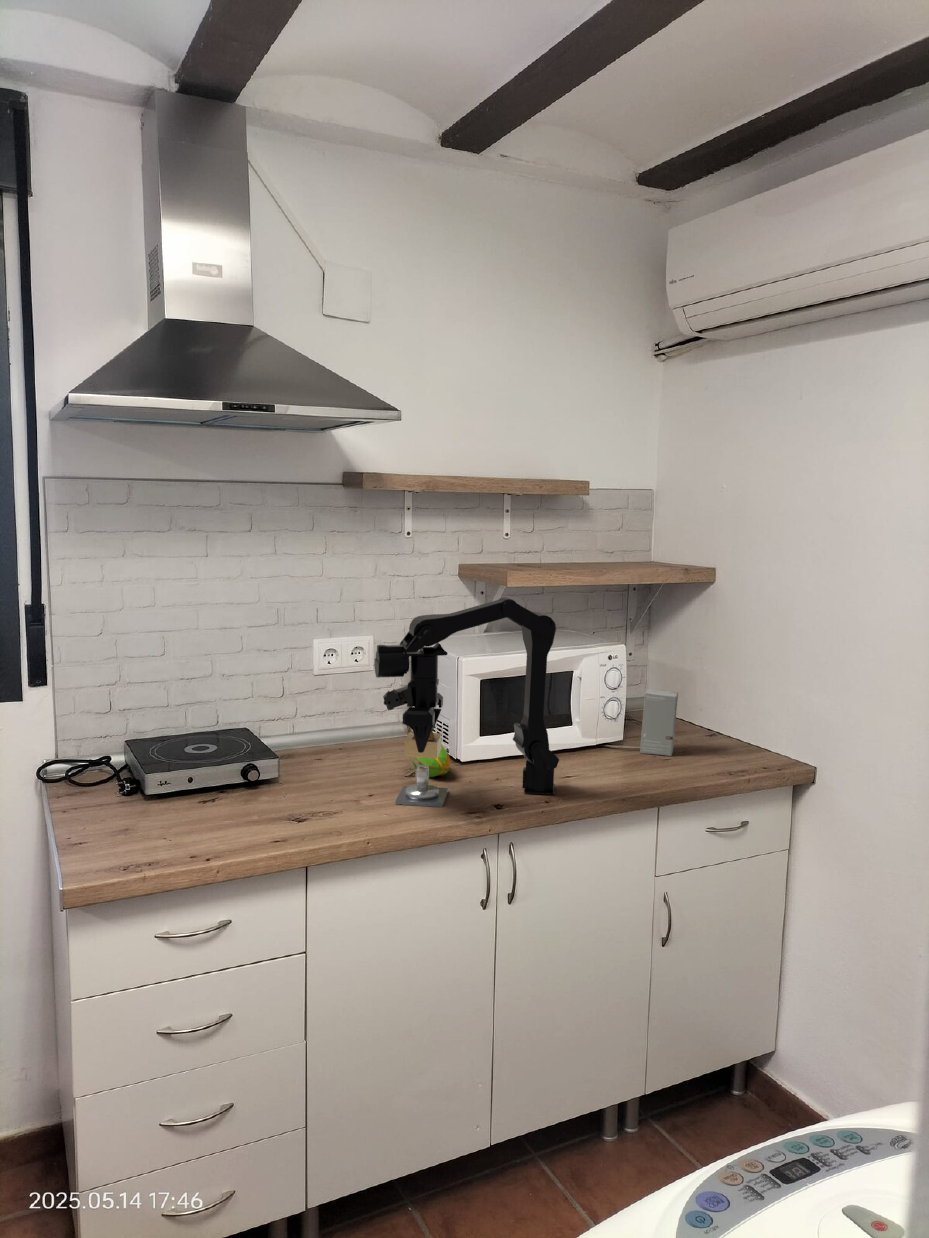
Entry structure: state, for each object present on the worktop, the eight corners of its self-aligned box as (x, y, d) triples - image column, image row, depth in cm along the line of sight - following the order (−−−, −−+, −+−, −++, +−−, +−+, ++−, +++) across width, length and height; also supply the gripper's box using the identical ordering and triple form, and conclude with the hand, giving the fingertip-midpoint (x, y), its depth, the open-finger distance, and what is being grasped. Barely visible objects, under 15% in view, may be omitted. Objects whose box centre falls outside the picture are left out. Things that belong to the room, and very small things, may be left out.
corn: (427, 750, 205) (403, 728, 224) (424, 783, 206) (400, 758, 225) (458, 750, 208) (431, 728, 226) (455, 782, 209) (429, 758, 227)
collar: (441, 749, 198) (441, 733, 198) (437, 758, 191) (437, 742, 191) (409, 747, 199) (409, 732, 198) (404, 756, 192) (404, 740, 191)
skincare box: (639, 753, 233) (642, 693, 231) (642, 746, 240) (645, 687, 238) (673, 757, 231) (676, 695, 229) (675, 749, 238) (678, 690, 236)
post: (448, 791, 201) (448, 760, 200) (442, 806, 191) (443, 774, 190) (403, 789, 202) (403, 758, 201) (395, 804, 192) (395, 772, 191)
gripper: (394, 666, 203) (393, 734, 205) (378, 683, 184) (377, 758, 186) (443, 668, 202) (442, 736, 204) (432, 685, 183) (431, 760, 185)
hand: (423, 747), depth 195 cm, fingers closed on collar, 7 cm apart
